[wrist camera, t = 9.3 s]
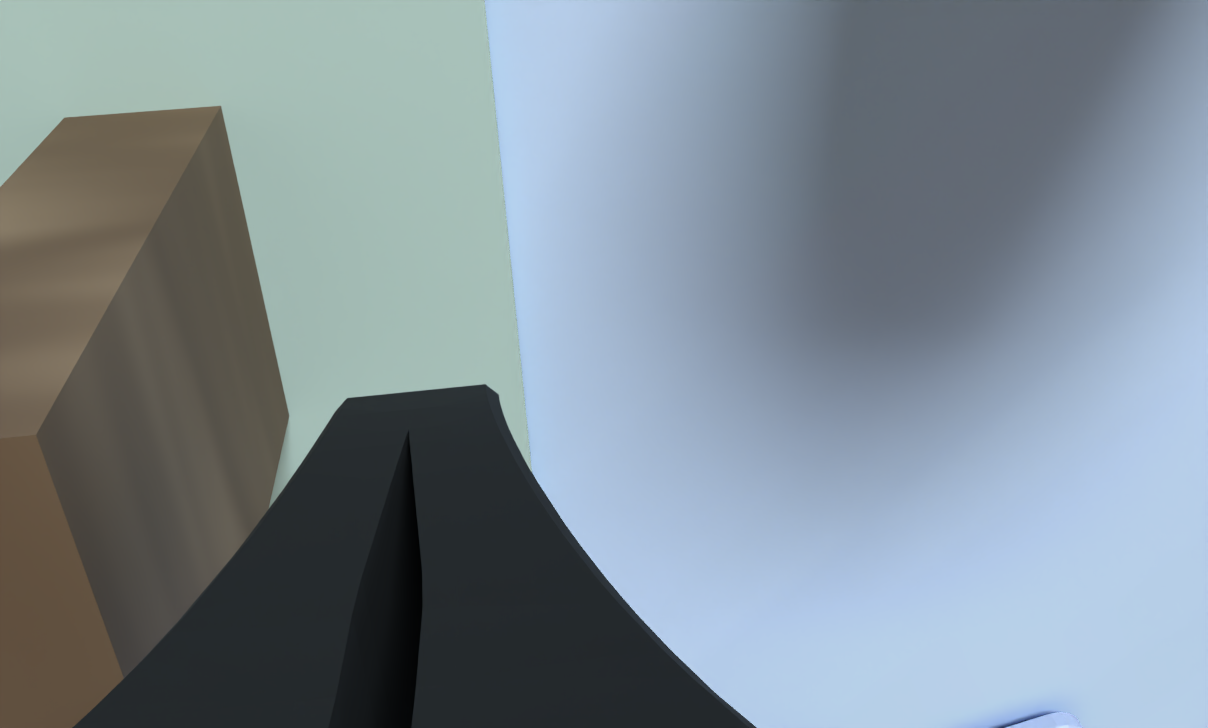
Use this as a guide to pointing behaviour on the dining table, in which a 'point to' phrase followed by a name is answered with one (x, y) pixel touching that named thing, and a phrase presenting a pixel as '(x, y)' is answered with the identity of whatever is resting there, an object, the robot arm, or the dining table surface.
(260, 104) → the mat
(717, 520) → the dining table surface
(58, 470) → the domino
